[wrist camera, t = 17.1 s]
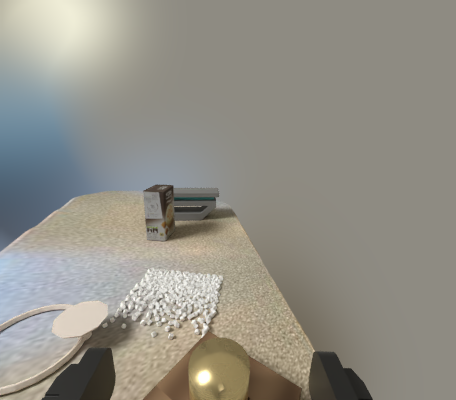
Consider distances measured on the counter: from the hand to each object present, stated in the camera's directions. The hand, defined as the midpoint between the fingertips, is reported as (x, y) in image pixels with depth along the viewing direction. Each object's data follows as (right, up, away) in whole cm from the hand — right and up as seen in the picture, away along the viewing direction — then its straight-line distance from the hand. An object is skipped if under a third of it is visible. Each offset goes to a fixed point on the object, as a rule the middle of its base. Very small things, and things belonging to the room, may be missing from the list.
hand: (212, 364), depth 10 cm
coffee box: (-21, -5, +70) cm, 74 cm away
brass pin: (0, -21, +18) cm, 28 cm away
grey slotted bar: (-16, 0, +86) cm, 88 cm away
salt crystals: (-11, -15, +41) cm, 45 cm away
